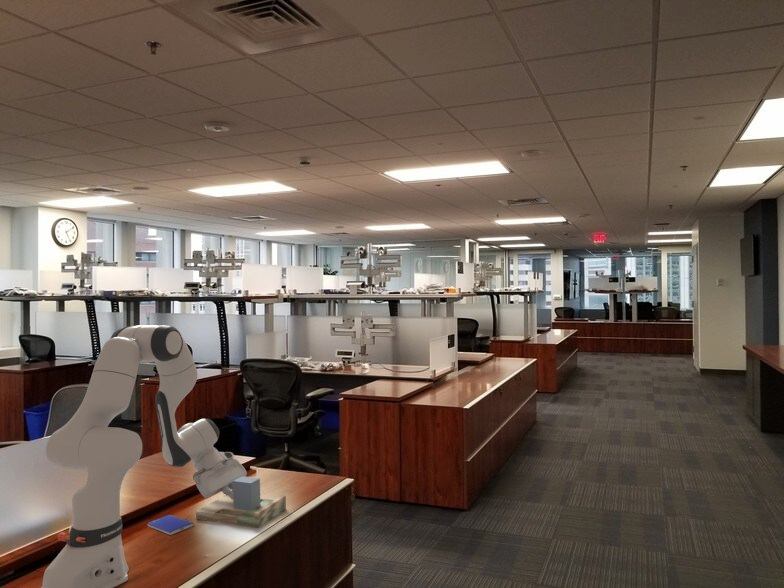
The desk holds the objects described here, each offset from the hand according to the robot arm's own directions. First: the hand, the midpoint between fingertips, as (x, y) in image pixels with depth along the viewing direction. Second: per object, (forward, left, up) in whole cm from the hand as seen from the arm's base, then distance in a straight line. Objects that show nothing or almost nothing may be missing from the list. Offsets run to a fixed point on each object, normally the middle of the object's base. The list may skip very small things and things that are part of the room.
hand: (236, 497), depth 191 cm
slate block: (0, -4, -3) cm, 5 cm away
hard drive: (-15, +14, -6) cm, 22 cm away
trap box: (0, -2, -5) cm, 6 cm away
